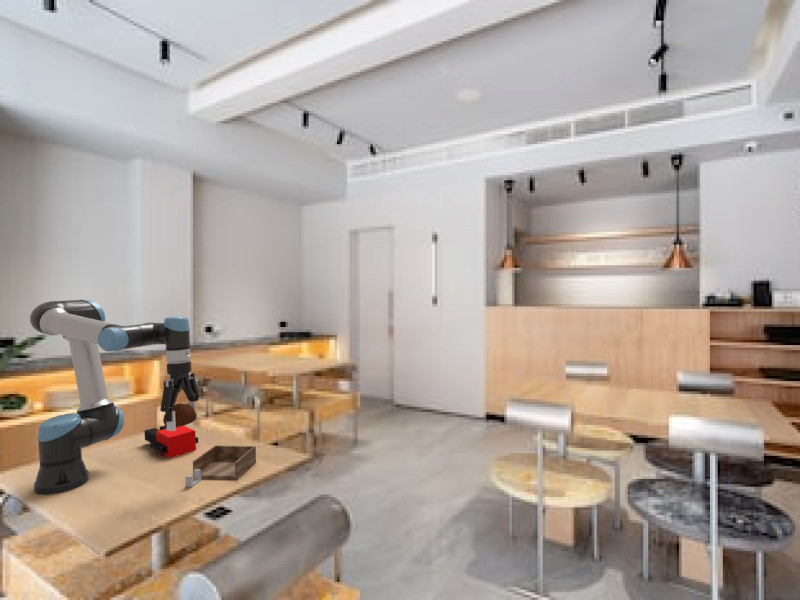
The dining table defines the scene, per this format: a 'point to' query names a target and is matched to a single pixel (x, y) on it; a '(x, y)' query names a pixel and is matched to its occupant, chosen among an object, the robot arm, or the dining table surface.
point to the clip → (190, 481)
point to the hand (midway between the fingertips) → (182, 425)
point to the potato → (183, 414)
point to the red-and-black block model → (172, 440)
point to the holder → (225, 462)
